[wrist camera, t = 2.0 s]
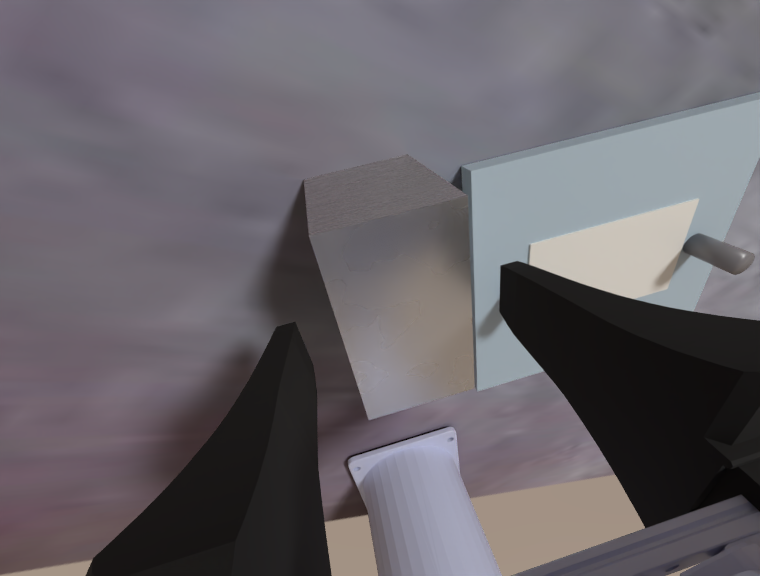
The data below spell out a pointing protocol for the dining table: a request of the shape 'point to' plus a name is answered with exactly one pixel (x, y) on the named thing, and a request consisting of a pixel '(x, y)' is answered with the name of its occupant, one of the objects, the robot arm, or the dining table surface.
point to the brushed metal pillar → (396, 279)
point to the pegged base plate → (610, 216)
